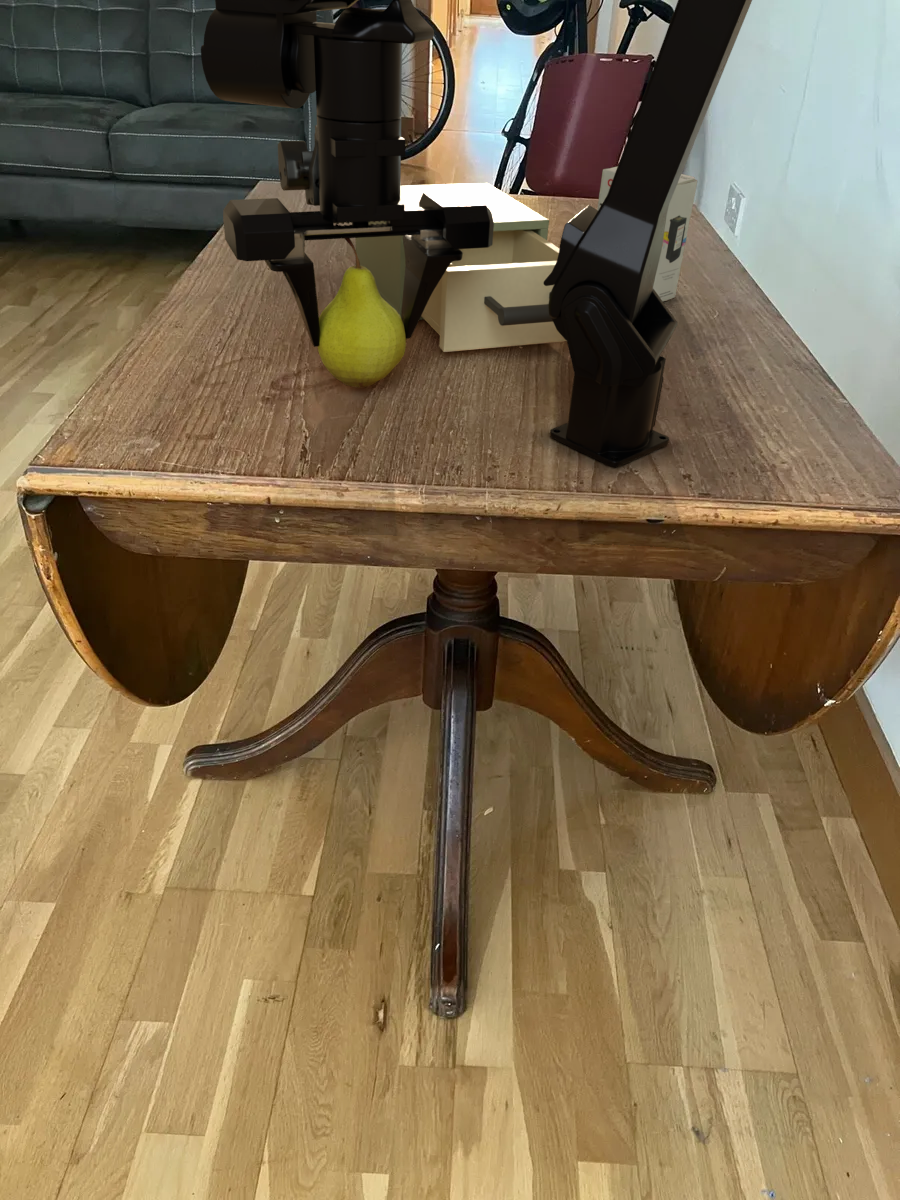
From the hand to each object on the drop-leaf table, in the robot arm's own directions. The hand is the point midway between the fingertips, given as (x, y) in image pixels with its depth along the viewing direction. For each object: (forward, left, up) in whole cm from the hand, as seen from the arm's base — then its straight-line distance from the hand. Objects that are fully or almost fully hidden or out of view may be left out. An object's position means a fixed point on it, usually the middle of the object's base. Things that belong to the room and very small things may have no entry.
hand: (361, 340), depth 72 cm
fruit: (0, 0, -4) cm, 4 cm away
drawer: (+17, +3, -3) cm, 18 cm away
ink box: (+39, +4, -4) cm, 39 cm away
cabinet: (+23, +15, -4) cm, 28 cm away
